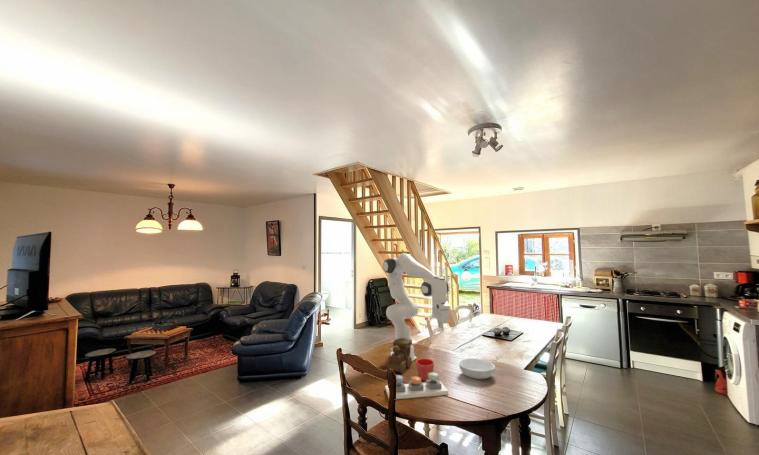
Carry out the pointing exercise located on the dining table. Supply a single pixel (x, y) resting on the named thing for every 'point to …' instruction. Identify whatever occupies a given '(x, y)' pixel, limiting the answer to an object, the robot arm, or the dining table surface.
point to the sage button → (433, 376)
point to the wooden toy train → (400, 355)
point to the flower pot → (424, 368)
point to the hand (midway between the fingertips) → (440, 327)
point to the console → (419, 389)
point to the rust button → (415, 380)
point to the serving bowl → (477, 368)
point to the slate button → (399, 379)
